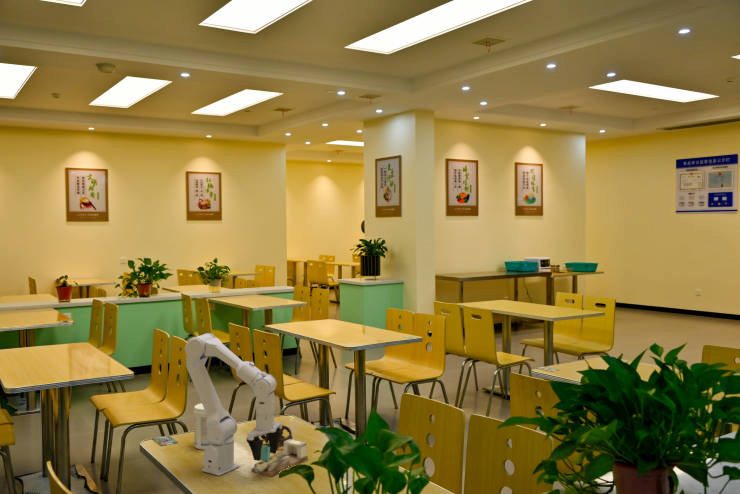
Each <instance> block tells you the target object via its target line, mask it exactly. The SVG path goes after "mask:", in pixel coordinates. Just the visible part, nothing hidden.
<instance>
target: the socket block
mask: <svg viewBox="0 0 740 494" xmlns="http://www.w3.org/2000/svg"><path fill="white" fill-rule="evenodd" d="M307 444H308V443H307V442H304V441H299V440H296V439H292V440H291V439H289V440H286V441H284V446H283V453H284V454H285V455H290V454H292V453H294V454H297V458H300V459H302V458H304V457H306V456H307V453H308V451H307V450H308V449H307V448H308V447H307Z"/></svg>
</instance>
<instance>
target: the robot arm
mask: <svg viewBox="0 0 740 494" xmlns="http://www.w3.org/2000/svg"><path fill="white" fill-rule="evenodd" d="M184 352H185V354H186V356H185V367H186V369H187V370H186V371H188V375H189V376H190V379H191V381H192V383H193V385H194V388H195V390H196V393H197V395H198V397H199V399H200V402H201V403H202V405H203V407H204V410H205V412H206V414H207V421H206V427H207V436H208V439H209V440H210V441H211V443H210V445H209V446H207V447H206V448H205V450H203V457H202V458H203V468H202V469H201V472H204V473H209V474H211V475H215V476H222V475H224V474H226V473H229V472H231V471H233V470H235V469H237V468H240V464H237V463H235V438H234V437H235V436H234V435H235V434H236V433H237V430H238V423H237V422H236V420H235V419H234V418H233V417H232V416H231V414H230V412H229V411H228V410H226V409H224V407H223V404H222V403H221V400H220V398H219V396H218V394H217V391H216V389H215V386H214V384H213V381H212V379H211V376H210V375H209V372H208V370H207V368H206V366H205V365H206V362H207V360H208V358H209V357H216V358H217V359H220V360H221V361H223V362H224V363H225V364H227V365H228V366H230V367H231V368H232V369H233V370H235V373H236V376H237V377H238V378H239V379H240V380H242V381H243V382H245V383H246V384H247V385H249V387H251V388H252V391H253V393H254V394H255V428H253V429H252V430H251V431H249V432H247V433H246V435H247V436H246V442H247V443H248V446H249V447H250V450H251V452H252V458H253V460H254V461H256V462H257V461H258V462H260V461H261V460H260V459H261V448H262V445H264V442H265V440H263V439H262V438H261V437H260V436H262V435H265V434H267V435H268V446H270V454H273V455H276V454H277V451H278V449H277V447H278V443H279V440H280V438H281V436H283V434H284V430H283V431H282V430H280V429H282V425H283V423H282V422H280V421H276V422H275V390H276V389H277V385H278V382H277V380H276V378H275V377H274V376H273V375H272V374H270V373H269V374H267V373H266V372H265V371H262V370H260V369H259V368H258V367H256V366H255V363H254V361H248V360H245V361H243V360H242V359H241V358H239V356H238V355H235V353H234V352H233V351H231V350H230V349H229V348H228V347H227V346H226V345H225V344H224V343H222V341H221V340H220V338H218V337H216V336H215V335H214V334H213V333H211V332H207V333H203V334H201V335H198V336H194V337H191V338H189V339H188V340H187V342H186V344H185V346H184Z"/></svg>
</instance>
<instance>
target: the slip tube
mask: <svg viewBox="0 0 740 494" xmlns="http://www.w3.org/2000/svg"><path fill="white" fill-rule="evenodd" d="M284 457H286V456H285V454H284V451H280V452H278V453H275V454H273V455H271V453H270V446H269V445H264V444H262V448H261V459H260V461H258V462H256V463H254V464H253V468H254V469H255V471H256V472H257V473H256V474H258V473H260V472H262V471H264V470H266V469H268V465H269V464H271V463H273V462H276V461H278V460H280V459H282V458H284Z"/></svg>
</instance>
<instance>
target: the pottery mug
mask: <svg viewBox="0 0 740 494" xmlns="http://www.w3.org/2000/svg"><path fill="white" fill-rule="evenodd" d="M280 430H282V431H283V432H284V430H285V431H286V432H287V433H288V435H287V436H286V437H285V436H284V435H282V436H281V438H280V440H279V443H278V447H277V450H278V449H280V448H283V447H284V441H286V440H289V439H291V440H293V438H294V437H293V434H292V429H290V427H288V426H286V425H284V424H282V429H280ZM259 438H260V439H261V440H264V442H265V444H269V440H268V435H267V434H264V435H262V436H259Z"/></svg>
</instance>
